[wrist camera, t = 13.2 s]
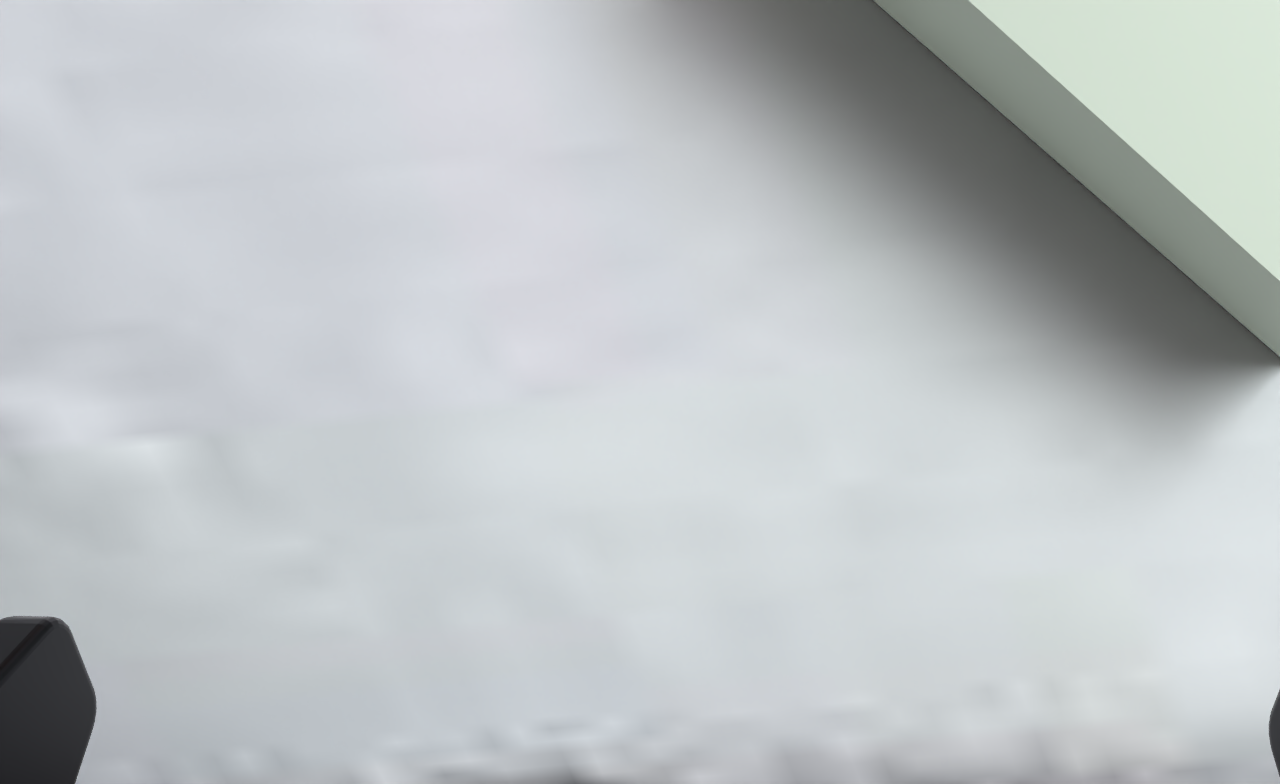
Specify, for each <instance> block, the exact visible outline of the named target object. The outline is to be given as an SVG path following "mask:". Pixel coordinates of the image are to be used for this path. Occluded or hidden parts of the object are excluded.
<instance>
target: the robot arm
mask: <svg viewBox="0 0 1280 784" xmlns="http://www.w3.org/2000/svg"><path fill="white" fill-rule="evenodd" d="M95 716H96V696H95V692H94V688H93V686H92V683H91V681H90V678H89V676H88V673H87V671H86V668H85V665H84V663H83V660H82V658H81V655H80V653H79V650H78V648H77V645H76V643H75V640H74V638H73V635H72V633H71V630H70V629H69V627H68V625H67V624H65V623H64V622H63V621H62V620H61V619H58V618H55V617H32V616H13V617H7V618H3V619H1V620H0V784H75V782H76V779H77V776H78V773H79V769H80V766H81V763H82V760H83V757H84V754H85V751H86V748H87V745H88V742H89V739H90V736H91V733H92V730H93V726H94V722H95ZM1269 737H1270V744H1271V748H1272V752H1273V756H1274V759H1275V762H1276V766H1277V769H1278V772H1279V776H1280V690H1279V693H1278V695H1277V698H1276V700H1275V703H1274V706H1273V708H1272V711H1271V715H1270V721H1269Z"/></svg>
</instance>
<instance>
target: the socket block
mask: <svg viewBox="0 0 1280 784" xmlns="http://www.w3.org/2000/svg"><path fill="white" fill-rule="evenodd" d="M873 1H874V2H875V3H877V4H878V5H879V6H880V7H881V8H882V9H883V10H885V11H886V12H887V13H888V14H889V15H890V16H891V17H893V18H894V19H895V20H896V21H897V22H898V23H899V24H900V25H902V26H903V27H904V28H905V29H906V30H907V31H908V32H910V33H911V34H912V35H913V36H914V37H915V38H916V39H918V40H919V41H920V42H921V43H922V44H923V45H924V46H926V47H927V48H928V49H929V50H930V51H931V52H932V53H934V54H935V55H936V56H937V57H938V58H939V59H940V60H942V61H943V62H944V63H945V64H946V65H947V66H948V67H950V68H951V69H952V70H953V71H954V72H955V73H956V74H957V75H959V76H960V77H961V78H962V79H963V80H964V81H965V82H967V83H968V84H969V85H970V86H971V87H972V88H973V89H975V90H976V91H977V92H978V93H979V94H980V95H981V96H983V97H984V98H985V99H986V100H987V101H988V102H989V103H991V104H992V105H993V106H994V107H995V108H996V109H997V110H999V111H1000V112H1001V113H1002V114H1003V115H1004V116H1005V117H1007V118H1008V119H1009V120H1010V121H1011V122H1012V123H1013V124H1015V125H1016V126H1017V127H1018V128H1019V129H1020V130H1021V131H1022V132H1024V133H1025V134H1026V135H1027V136H1028V137H1029V138H1030V139H1032V140H1033V141H1034V142H1035V143H1036V144H1037V145H1038V146H1040V147H1041V148H1042V149H1043V150H1044V151H1045V152H1046V153H1048V154H1049V155H1050V156H1051V157H1052V158H1053V159H1054V160H1056V161H1057V162H1058V163H1059V164H1060V165H1061V166H1062V167H1064V168H1065V169H1066V170H1067V171H1068V172H1069V173H1070V174H1072V175H1073V176H1074V177H1075V178H1076V179H1077V180H1078V181H1079V182H1081V183H1082V184H1083V185H1084V186H1085V187H1086V188H1087V189H1089V190H1090V191H1091V192H1092V193H1093V194H1094V195H1095V196H1097V197H1098V198H1099V199H1100V200H1101V201H1102V202H1103V203H1105V204H1106V205H1107V206H1108V207H1109V208H1110V209H1111V210H1113V211H1114V212H1115V213H1116V214H1117V215H1118V216H1119V217H1121V218H1122V219H1123V220H1124V221H1125V222H1126V223H1127V224H1129V225H1130V226H1131V227H1132V228H1133V229H1134V230H1135V231H1136V232H1138V233H1139V234H1140V235H1141V236H1142V237H1143V238H1144V239H1146V240H1147V241H1148V242H1149V243H1150V244H1151V245H1152V246H1154V247H1155V248H1156V249H1157V250H1158V251H1159V252H1160V253H1162V254H1163V255H1164V256H1165V257H1166V258H1167V259H1168V260H1170V261H1171V262H1172V263H1173V264H1174V265H1175V266H1176V267H1178V268H1179V269H1180V270H1181V271H1182V272H1183V273H1184V274H1186V275H1187V276H1188V277H1189V278H1190V279H1191V280H1192V281H1194V282H1195V283H1196V284H1197V285H1198V286H1199V287H1200V288H1201V289H1203V290H1204V291H1205V292H1206V293H1207V294H1208V295H1209V296H1211V297H1212V298H1213V299H1214V300H1215V301H1216V302H1217V303H1219V304H1220V305H1221V306H1222V307H1223V308H1224V309H1225V310H1227V311H1228V312H1229V313H1230V314H1231V315H1232V316H1233V317H1235V318H1236V319H1237V320H1238V321H1239V322H1240V323H1241V324H1243V325H1244V326H1245V327H1246V328H1247V329H1248V330H1249V331H1251V332H1252V333H1253V334H1254V335H1255V336H1256V337H1257V338H1258V339H1260V340H1261V341H1262V342H1263V343H1264V344H1265V345H1266V346H1268V347H1269V348H1270V349H1271V350H1272V351H1273V352H1274V353H1276V354H1277V355H1278V356H1279V357H1280V0H873Z"/></svg>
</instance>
